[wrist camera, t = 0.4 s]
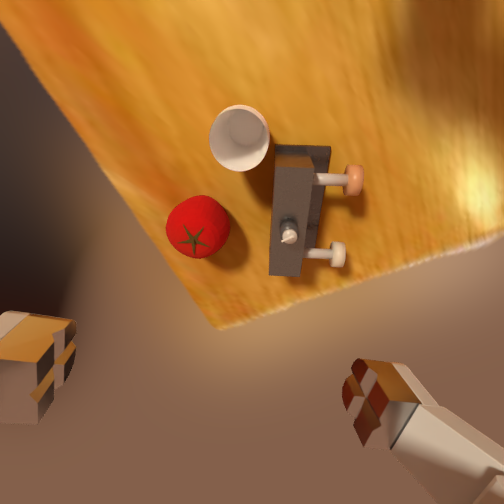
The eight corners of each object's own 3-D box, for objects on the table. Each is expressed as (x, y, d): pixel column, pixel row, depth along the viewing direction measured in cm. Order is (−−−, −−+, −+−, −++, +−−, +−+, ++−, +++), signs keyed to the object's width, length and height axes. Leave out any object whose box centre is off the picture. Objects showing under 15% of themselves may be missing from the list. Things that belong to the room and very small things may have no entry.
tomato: (235, 190, 58) (226, 217, 48) (232, 240, 65) (223, 273, 54) (174, 184, 58) (152, 209, 48) (177, 233, 65) (158, 266, 54)
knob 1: (358, 161, 49) (366, 170, 45) (352, 189, 52) (359, 200, 48) (303, 159, 50) (306, 168, 45) (300, 187, 52) (303, 197, 48)
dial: (293, 216, 48) (295, 226, 45) (301, 231, 50) (302, 242, 47) (276, 224, 49) (276, 234, 46) (284, 238, 51) (285, 249, 48)
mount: (330, 146, 52) (342, 162, 43) (313, 251, 65) (320, 282, 56) (275, 144, 53) (275, 160, 44) (269, 249, 65) (268, 279, 56)
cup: (280, 124, 51) (282, 137, 41) (249, 163, 55) (243, 184, 45) (241, 87, 48) (232, 91, 38) (210, 130, 52) (195, 145, 42)
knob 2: (342, 237, 57) (347, 250, 53) (337, 258, 60) (342, 272, 56) (295, 235, 58) (297, 248, 53) (293, 256, 60) (294, 269, 56)
